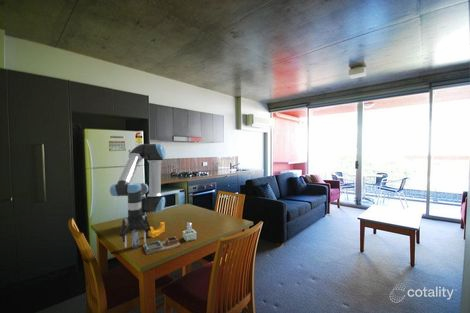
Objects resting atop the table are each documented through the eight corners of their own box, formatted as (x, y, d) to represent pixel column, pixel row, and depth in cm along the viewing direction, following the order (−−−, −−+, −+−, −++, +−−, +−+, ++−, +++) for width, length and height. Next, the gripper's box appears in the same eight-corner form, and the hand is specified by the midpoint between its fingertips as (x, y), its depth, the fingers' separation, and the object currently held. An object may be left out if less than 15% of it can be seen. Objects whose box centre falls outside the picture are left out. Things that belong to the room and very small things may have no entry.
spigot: (131, 246, 128) (131, 229, 128) (138, 245, 131) (138, 228, 130) (132, 249, 125) (132, 231, 125) (139, 247, 127) (139, 230, 127)
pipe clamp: (152, 237, 142) (152, 228, 142) (148, 236, 144) (148, 227, 144) (166, 231, 152) (166, 223, 152) (162, 230, 155) (162, 222, 154)
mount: (143, 246, 128) (143, 241, 128) (175, 239, 139) (175, 234, 139) (146, 255, 118) (146, 249, 118) (181, 246, 129) (181, 240, 129)
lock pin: (186, 237, 141) (186, 222, 140) (190, 236, 142) (190, 221, 142) (187, 239, 138) (187, 224, 137) (192, 238, 140) (192, 223, 139)
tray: (182, 237, 141) (182, 231, 141) (192, 235, 145) (192, 229, 145) (186, 241, 135) (186, 234, 135) (196, 239, 139) (196, 232, 139)
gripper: (113, 213, 118) (114, 251, 119) (155, 207, 130) (156, 242, 131) (113, 210, 124) (114, 246, 125) (153, 204, 136) (153, 238, 137)
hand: (135, 244), depth 128 cm, fingers open, 10 cm apart
